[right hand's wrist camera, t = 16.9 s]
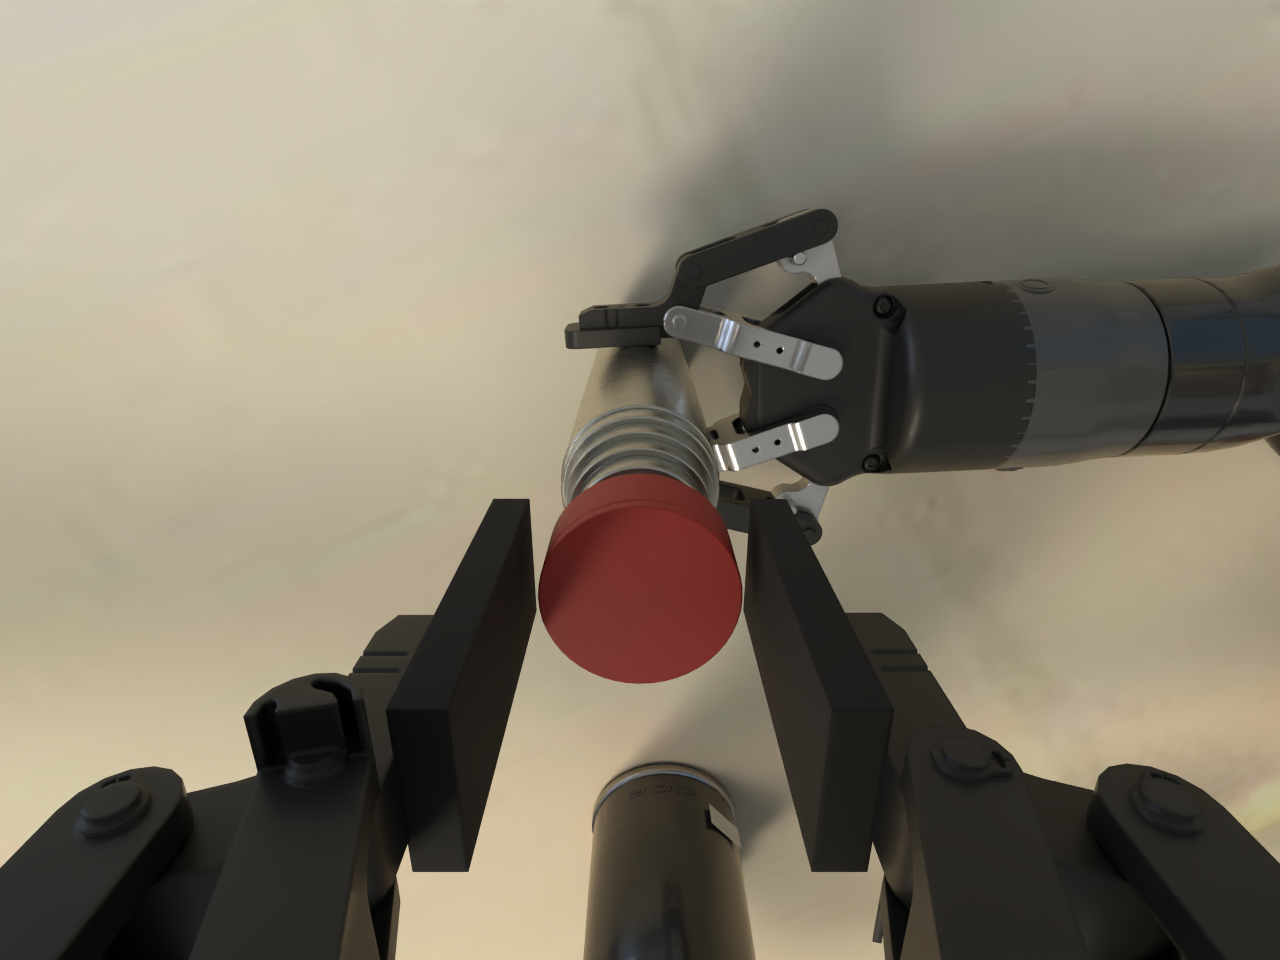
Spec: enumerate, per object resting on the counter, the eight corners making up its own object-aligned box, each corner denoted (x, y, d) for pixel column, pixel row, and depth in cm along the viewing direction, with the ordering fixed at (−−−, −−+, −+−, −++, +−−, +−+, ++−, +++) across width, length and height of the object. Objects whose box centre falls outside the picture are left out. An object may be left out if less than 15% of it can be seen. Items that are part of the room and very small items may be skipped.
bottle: (696, 385, 35) (778, 639, 14) (616, 415, 35) (582, 703, 15) (665, 303, 33) (707, 451, 13) (582, 336, 34) (492, 531, 13)
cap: (693, 444, 14) (701, 476, 12) (755, 600, 15) (769, 648, 13) (518, 510, 14) (502, 549, 13) (592, 656, 16) (587, 708, 14)
